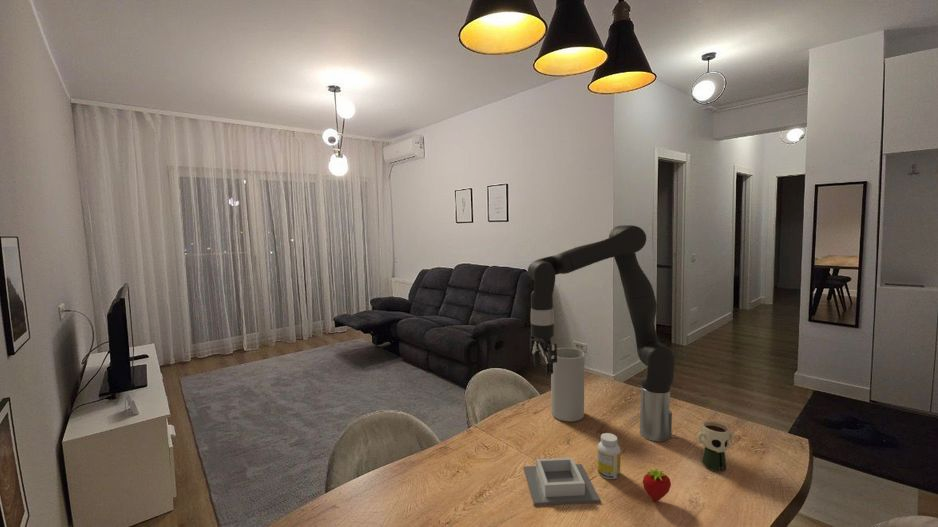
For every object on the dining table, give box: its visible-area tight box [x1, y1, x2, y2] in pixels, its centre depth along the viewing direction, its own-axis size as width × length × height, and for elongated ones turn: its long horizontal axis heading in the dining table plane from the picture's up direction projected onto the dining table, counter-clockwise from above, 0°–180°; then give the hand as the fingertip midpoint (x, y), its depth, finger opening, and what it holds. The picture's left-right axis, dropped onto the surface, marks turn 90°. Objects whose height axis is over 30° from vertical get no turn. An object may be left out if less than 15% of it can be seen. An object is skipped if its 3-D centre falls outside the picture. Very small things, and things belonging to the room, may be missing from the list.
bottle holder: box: [523, 457, 601, 506], centre depth 116 cm, size 18×16×4 cm
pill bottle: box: [597, 432, 621, 480], centre depth 120 cm, size 6×6×12 cm
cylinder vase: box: [550, 347, 585, 423], centre depth 156 cm, size 12×12×25 cm
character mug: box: [697, 420, 734, 472], centre depth 122 cm, size 11×7×13 cm, turn 94°
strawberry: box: [642, 467, 672, 502], centre depth 108 cm, size 6×8×10 cm
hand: (543, 369), depth 133 cm, fingers open, 8 cm apart
